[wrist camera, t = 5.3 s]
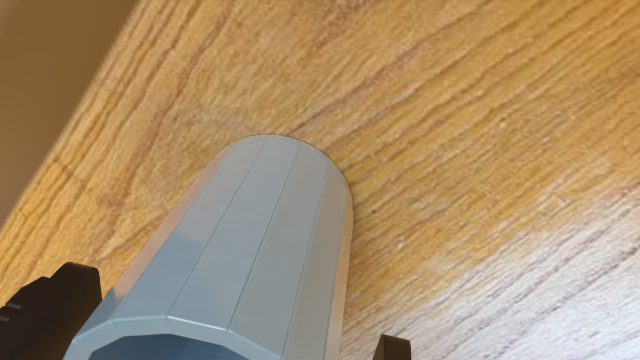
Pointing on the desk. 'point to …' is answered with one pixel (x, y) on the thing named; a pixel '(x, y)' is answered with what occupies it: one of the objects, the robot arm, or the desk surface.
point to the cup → (237, 265)
